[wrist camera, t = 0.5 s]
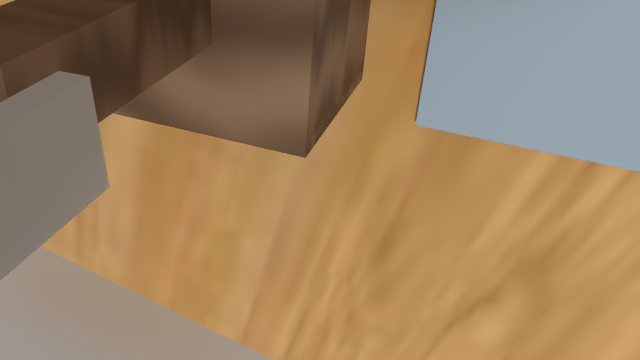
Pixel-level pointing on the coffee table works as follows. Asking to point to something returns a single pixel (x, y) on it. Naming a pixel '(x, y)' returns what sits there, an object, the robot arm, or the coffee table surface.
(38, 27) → the cover
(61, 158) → the robot arm
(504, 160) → the coffee table surface
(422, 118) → the mat
